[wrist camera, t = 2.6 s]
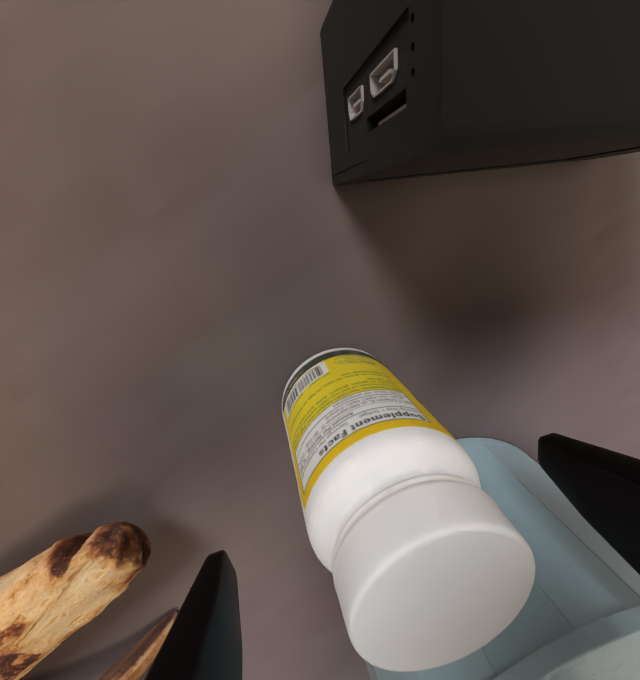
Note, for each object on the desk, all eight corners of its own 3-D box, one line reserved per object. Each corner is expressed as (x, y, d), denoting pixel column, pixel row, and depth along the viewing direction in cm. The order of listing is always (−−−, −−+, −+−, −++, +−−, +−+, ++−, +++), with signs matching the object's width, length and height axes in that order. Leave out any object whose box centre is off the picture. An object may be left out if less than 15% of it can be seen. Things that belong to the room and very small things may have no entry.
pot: (559, 536, 21) (731, 711, 14) (392, 636, 21) (474, 866, 14) (512, 394, 16) (733, 541, 9) (297, 521, 16) (342, 775, 9)
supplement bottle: (388, 437, 16) (529, 654, 8) (284, 453, 15) (330, 715, 7) (393, 338, 14) (578, 490, 6) (276, 349, 13) (325, 543, 5)
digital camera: (624, -28, 11) (1135, -352, 5) (594, 158, 13) (930, 104, 7) (313, -26, 10) (456, -514, 3) (331, 185, 12) (442, 149, 5)
